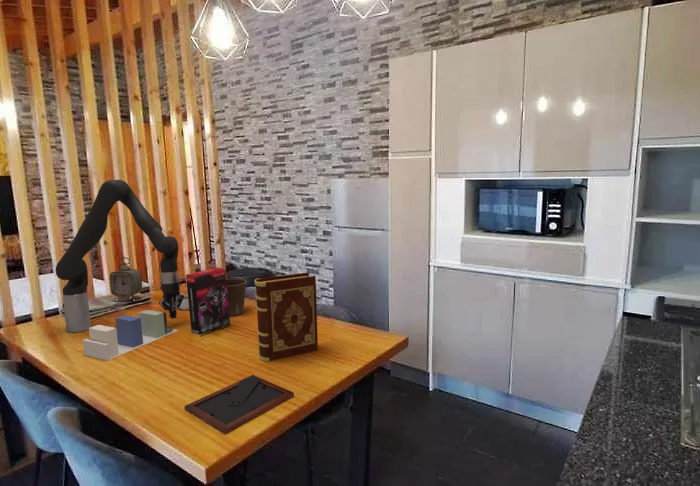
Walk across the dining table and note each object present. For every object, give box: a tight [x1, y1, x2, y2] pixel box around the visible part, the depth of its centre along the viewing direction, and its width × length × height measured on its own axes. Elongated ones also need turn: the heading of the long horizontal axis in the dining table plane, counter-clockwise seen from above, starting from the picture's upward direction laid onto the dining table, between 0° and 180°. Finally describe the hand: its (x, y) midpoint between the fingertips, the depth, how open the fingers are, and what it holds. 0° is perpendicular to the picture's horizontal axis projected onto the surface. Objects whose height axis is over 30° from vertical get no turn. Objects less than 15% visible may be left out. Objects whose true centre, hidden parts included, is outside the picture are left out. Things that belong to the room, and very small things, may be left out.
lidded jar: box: [177, 290, 189, 311], centre depth 223 cm, size 11×11×9 cm
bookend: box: [151, 309, 174, 333], centre depth 185 cm, size 9×4×9 cm, turn 65°
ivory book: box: [88, 324, 119, 358], centre depth 161 cm, size 10×4×10 cm, turn 65°
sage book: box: [138, 309, 165, 339], centre depth 181 cm, size 10×4×10 cm, turn 65°
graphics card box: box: [185, 267, 231, 337], centre depth 187 cm, size 17×7×27 cm, turn 147°
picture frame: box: [184, 374, 295, 435], centre depth 127 cm, size 20×2×25 cm
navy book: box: [114, 314, 143, 348], centre depth 171 cm, size 9×4×11 cm, turn 65°
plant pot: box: [226, 278, 248, 317], centre depth 213 cm, size 16×16×16 cm
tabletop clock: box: [109, 256, 143, 298], centre depth 238 cm, size 14×9×25 cm, turn 80°
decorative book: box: [254, 272, 319, 362], centre depth 161 cm, size 22×8×30 cm, turn 117°
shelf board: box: [82, 328, 179, 361], centre depth 174 cm, size 13×34×7 cm, turn 155°
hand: (173, 318), depth 191 cm, fingers closed
